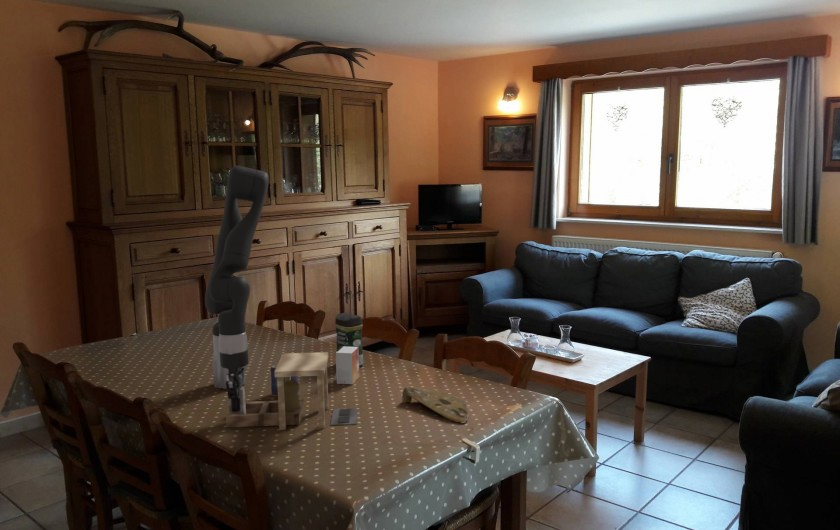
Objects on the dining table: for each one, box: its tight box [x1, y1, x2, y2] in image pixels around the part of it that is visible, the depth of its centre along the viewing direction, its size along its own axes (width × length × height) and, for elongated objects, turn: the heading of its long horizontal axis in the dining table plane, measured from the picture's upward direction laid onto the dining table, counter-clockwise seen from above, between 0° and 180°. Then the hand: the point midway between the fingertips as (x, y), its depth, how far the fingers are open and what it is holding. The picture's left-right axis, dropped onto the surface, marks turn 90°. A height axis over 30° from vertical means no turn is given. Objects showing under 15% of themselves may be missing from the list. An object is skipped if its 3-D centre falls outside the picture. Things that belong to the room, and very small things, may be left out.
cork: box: [284, 380, 303, 422], centre depth 186 cm, size 6×6×11 cm
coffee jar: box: [334, 312, 364, 368], centre depth 235 cm, size 10×8×19 cm
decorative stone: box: [401, 386, 469, 423], centre depth 194 cm, size 25×15×5 cm, turn 38°
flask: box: [270, 363, 300, 397], centre depth 205 cm, size 9×3×11 cm, turn 74°
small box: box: [335, 346, 360, 385], centre depth 219 cm, size 8×6×10 cm
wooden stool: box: [274, 351, 358, 431], centre depth 186 cm, size 21×17×16 cm
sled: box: [225, 385, 304, 428], centre depth 186 cm, size 20×11×9 cm, turn 94°
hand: (237, 408), depth 185 cm, fingers closed on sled, 3 cm apart
